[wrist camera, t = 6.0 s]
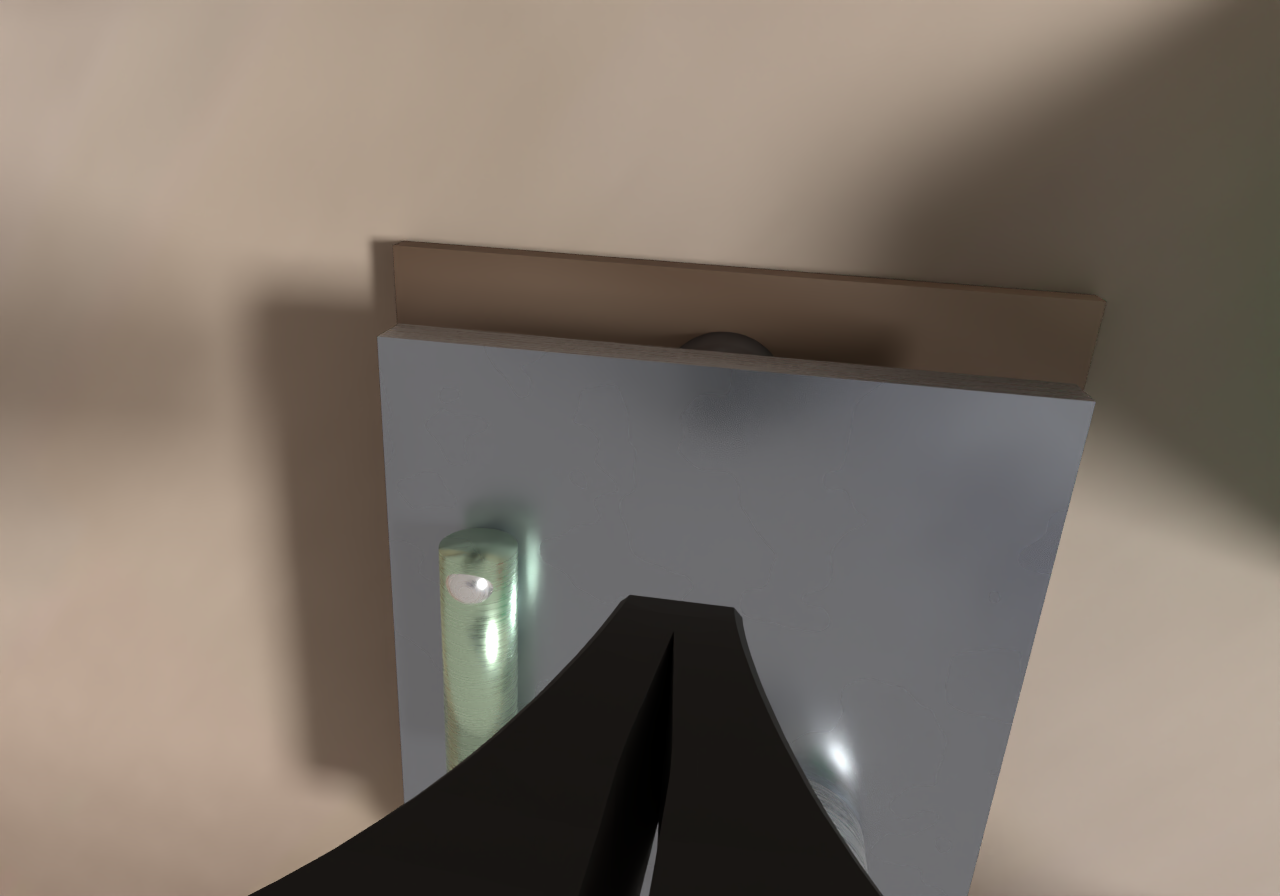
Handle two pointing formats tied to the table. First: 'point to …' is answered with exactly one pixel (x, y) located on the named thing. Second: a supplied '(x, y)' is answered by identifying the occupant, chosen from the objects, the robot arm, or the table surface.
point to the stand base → (750, 311)
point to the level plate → (734, 553)
